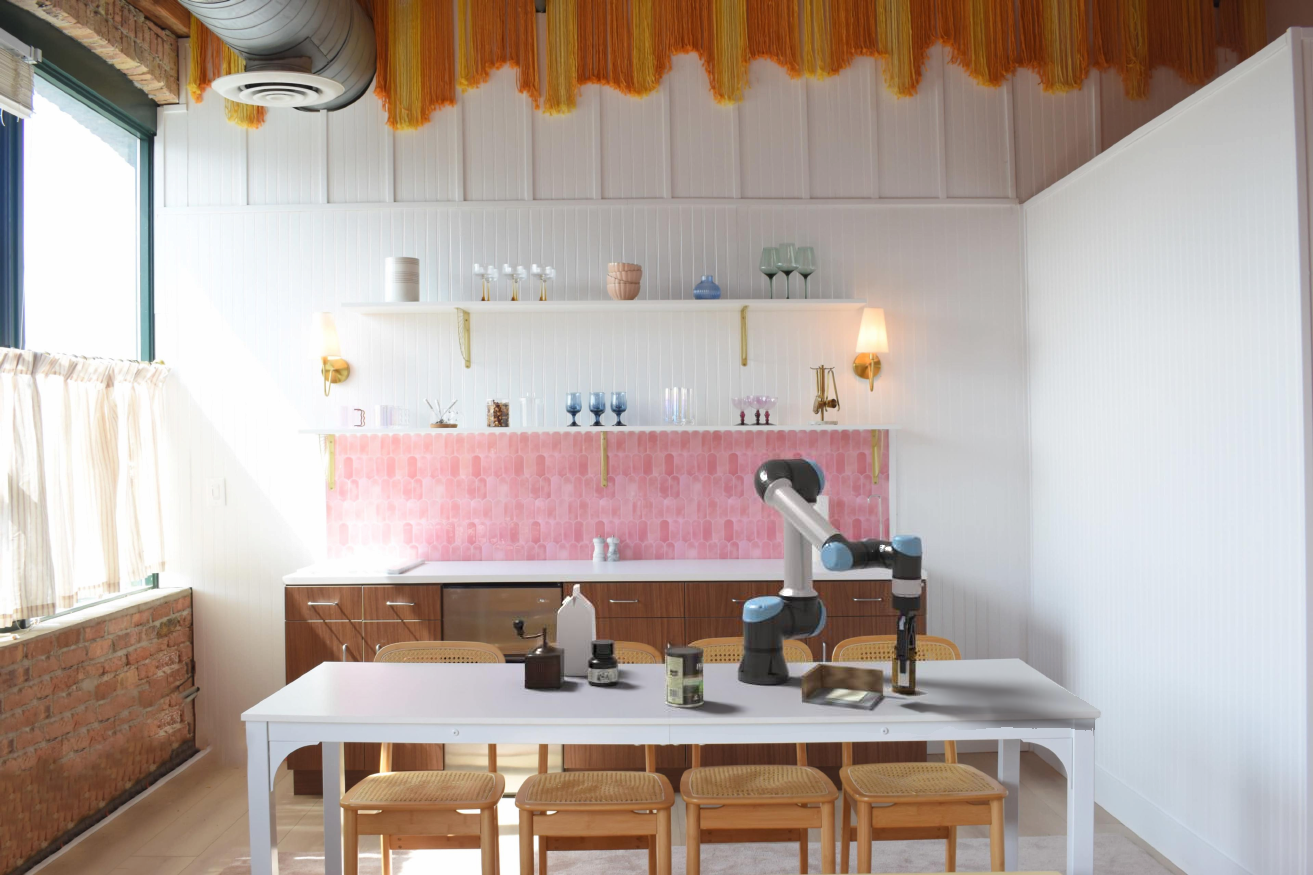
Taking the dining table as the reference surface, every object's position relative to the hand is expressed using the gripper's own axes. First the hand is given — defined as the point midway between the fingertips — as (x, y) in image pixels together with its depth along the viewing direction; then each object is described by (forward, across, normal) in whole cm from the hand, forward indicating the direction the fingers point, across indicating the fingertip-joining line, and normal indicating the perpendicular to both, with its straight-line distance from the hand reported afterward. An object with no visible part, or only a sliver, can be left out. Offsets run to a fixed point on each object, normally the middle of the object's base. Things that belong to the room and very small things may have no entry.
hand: (906, 682), depth 242 cm
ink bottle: (+7, -14, +83) cm, 85 cm away
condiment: (+3, -1, 0) cm, 3 cm away
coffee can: (+7, -23, +53) cm, 59 cm away
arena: (+6, -1, +16) cm, 18 cm away
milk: (+8, -4, +98) cm, 99 cm away
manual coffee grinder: (+8, -23, +100) cm, 103 cm away
